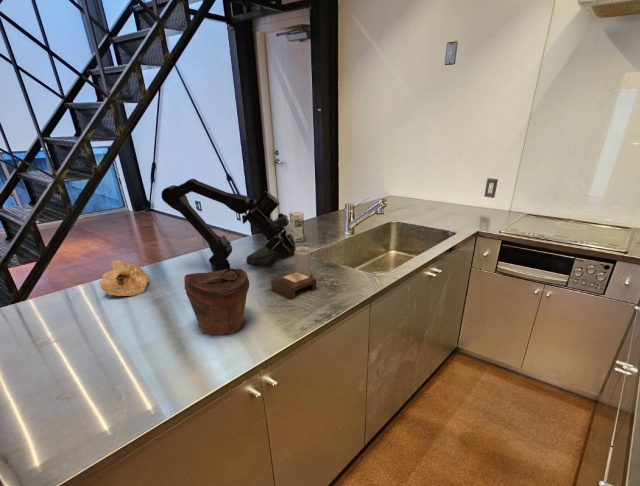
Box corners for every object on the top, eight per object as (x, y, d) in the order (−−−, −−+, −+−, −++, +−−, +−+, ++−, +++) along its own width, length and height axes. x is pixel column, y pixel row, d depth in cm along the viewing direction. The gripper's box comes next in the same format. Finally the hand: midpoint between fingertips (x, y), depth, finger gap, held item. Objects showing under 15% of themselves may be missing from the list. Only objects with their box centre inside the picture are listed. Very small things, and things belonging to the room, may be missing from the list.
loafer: (241, 268, 161) (239, 245, 156) (281, 250, 184) (280, 229, 179) (260, 273, 157) (259, 249, 152) (298, 253, 180) (298, 232, 175)
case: (263, 314, 125) (259, 263, 116) (233, 345, 108) (225, 288, 99) (215, 307, 129) (208, 257, 120) (179, 335, 112) (167, 279, 103)
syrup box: (294, 242, 196) (293, 214, 189) (290, 239, 200) (289, 211, 193) (304, 240, 198) (303, 213, 191) (299, 237, 203) (299, 210, 196)
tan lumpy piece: (143, 310, 139) (143, 296, 134) (98, 305, 134) (96, 290, 128) (151, 276, 150) (151, 262, 145) (109, 271, 145) (108, 256, 140)
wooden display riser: (290, 298, 136) (290, 288, 134) (271, 290, 142) (270, 279, 140) (316, 288, 144) (316, 278, 142) (297, 280, 151) (296, 270, 149)
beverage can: (296, 280, 151) (295, 251, 145) (293, 274, 156) (293, 246, 151) (312, 279, 153) (311, 250, 147) (309, 273, 158) (308, 245, 152)
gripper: (272, 213, 133) (304, 244, 138) (278, 203, 149) (307, 230, 155) (252, 235, 136) (284, 264, 142) (260, 222, 153) (288, 249, 158)
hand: (292, 251), depth 149 cm, fingers open, 9 cm apart
